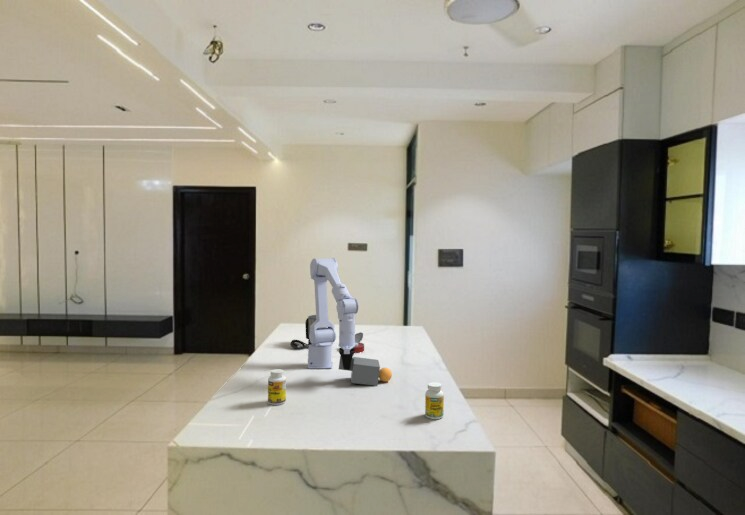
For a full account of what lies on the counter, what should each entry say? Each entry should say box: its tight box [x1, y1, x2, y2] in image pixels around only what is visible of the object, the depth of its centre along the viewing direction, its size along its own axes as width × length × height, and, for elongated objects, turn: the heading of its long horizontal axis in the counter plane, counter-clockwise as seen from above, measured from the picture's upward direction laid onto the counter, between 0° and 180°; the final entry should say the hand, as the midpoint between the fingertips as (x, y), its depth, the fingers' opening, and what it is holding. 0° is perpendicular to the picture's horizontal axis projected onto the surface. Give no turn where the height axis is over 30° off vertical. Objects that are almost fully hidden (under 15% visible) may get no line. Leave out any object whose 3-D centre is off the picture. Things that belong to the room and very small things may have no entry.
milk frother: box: [290, 314, 328, 350], centre depth 212 cm, size 14×16×15 cm
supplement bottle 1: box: [267, 368, 287, 406], centre depth 141 cm, size 6×6×10 cm
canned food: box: [354, 331, 365, 354], centre depth 207 cm, size 11×10×10 cm
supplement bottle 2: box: [424, 381, 445, 420], centre depth 132 cm, size 5×5×10 cm
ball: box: [378, 367, 393, 383], centre depth 163 cm, size 5×5×5 cm
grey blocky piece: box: [338, 355, 381, 387], centre depth 162 cm, size 14×9×8 cm, turn 93°
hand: (346, 368), depth 162 cm, fingers closed on grey blocky piece
